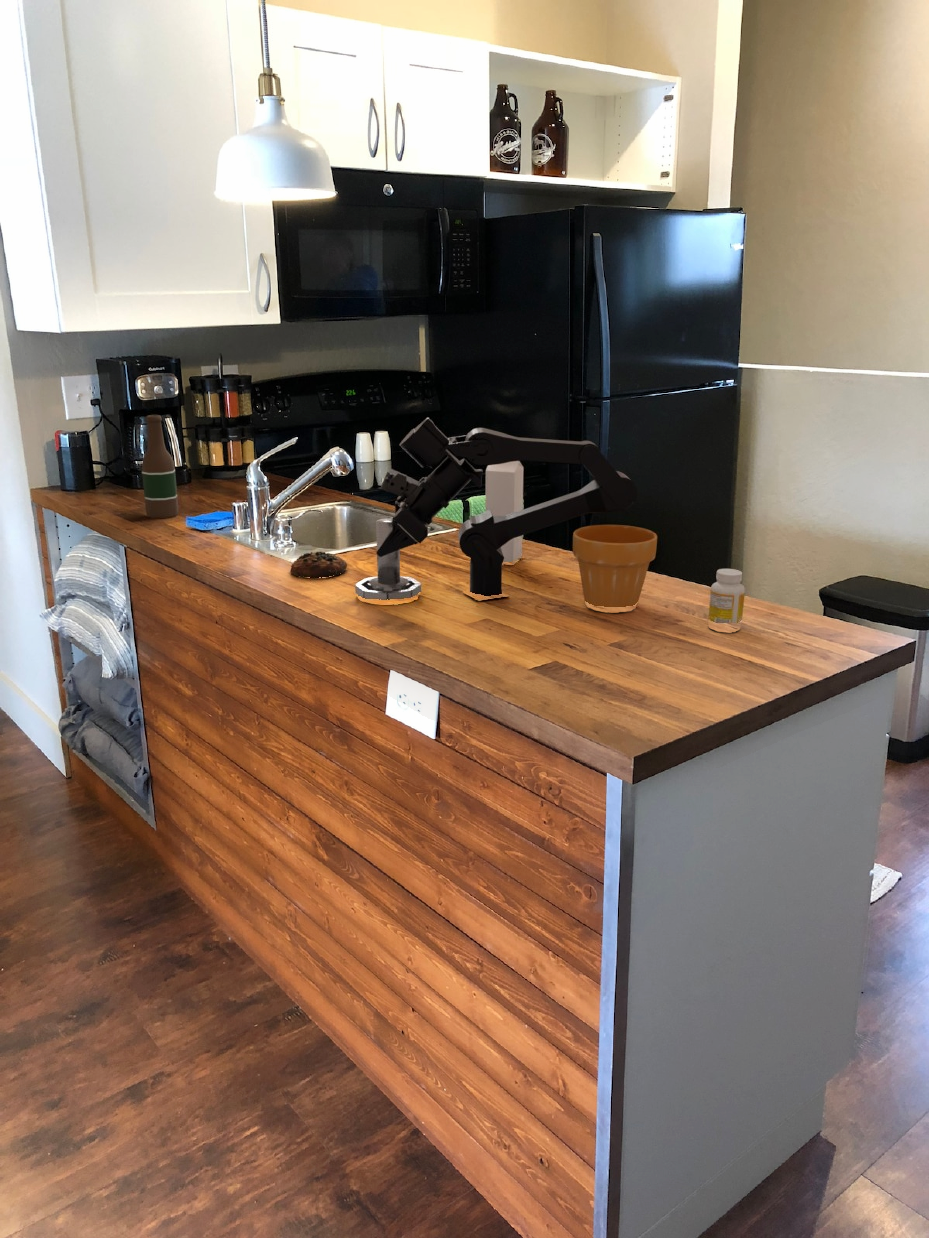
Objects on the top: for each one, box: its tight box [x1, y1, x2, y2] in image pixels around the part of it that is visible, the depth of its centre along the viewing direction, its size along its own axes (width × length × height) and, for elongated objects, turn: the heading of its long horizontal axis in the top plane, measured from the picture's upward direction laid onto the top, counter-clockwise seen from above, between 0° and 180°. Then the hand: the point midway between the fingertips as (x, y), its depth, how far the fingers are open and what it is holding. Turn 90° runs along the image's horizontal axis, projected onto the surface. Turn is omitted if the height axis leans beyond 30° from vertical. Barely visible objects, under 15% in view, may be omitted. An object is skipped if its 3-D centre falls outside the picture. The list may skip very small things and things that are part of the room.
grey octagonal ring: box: [354, 575, 422, 600], centre depth 181 cm, size 11×11×2 cm
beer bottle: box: [141, 414, 179, 519], centre depth 242 cm, size 8×8×24 cm
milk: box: [484, 461, 524, 562], centre depth 201 cm, size 6×6×22 cm
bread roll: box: [289, 551, 348, 578], centre depth 197 cm, size 11×11×5 cm
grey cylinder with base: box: [367, 518, 411, 592], centre depth 179 cm, size 8×8×13 cm
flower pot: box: [572, 524, 658, 607], centre depth 174 cm, size 14×14×13 cm
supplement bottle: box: [707, 568, 746, 623], centre depth 163 cm, size 5×5×10 cm
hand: (379, 548), depth 178 cm, fingers open, 9 cm apart
